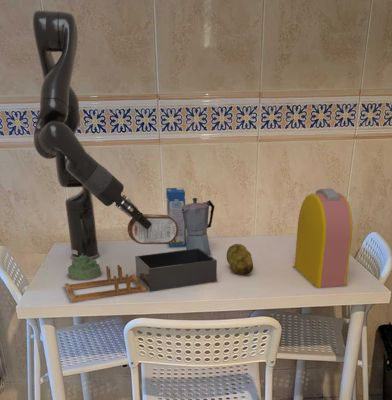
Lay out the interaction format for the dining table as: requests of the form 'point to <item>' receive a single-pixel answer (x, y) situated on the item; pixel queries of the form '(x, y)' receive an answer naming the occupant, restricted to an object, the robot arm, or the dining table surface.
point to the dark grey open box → (176, 269)
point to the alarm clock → (324, 238)
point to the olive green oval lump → (239, 259)
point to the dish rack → (108, 281)
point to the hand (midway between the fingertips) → (147, 225)
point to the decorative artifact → (84, 268)
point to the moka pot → (197, 224)
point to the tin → (154, 230)
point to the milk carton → (177, 214)
